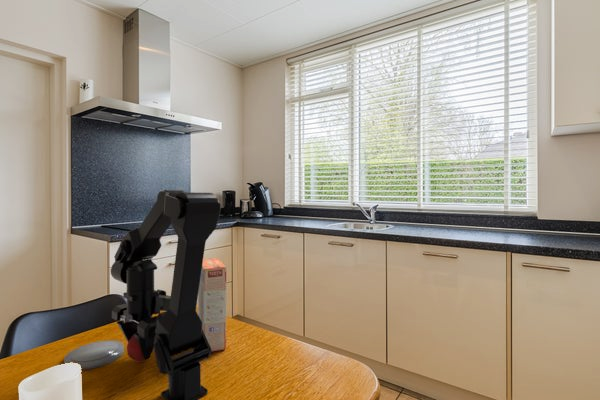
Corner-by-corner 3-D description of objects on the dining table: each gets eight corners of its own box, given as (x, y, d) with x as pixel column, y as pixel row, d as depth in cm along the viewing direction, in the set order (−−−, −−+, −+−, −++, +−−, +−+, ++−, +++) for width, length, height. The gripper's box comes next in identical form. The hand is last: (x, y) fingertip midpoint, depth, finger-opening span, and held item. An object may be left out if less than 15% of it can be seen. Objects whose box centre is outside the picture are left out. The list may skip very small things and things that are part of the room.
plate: (132, 355, 77) (132, 348, 77) (73, 376, 68) (72, 369, 68) (113, 340, 85) (113, 335, 85) (57, 358, 76) (57, 351, 76)
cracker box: (227, 350, 79) (227, 266, 79) (202, 354, 77) (202, 268, 77) (219, 328, 92) (219, 256, 92) (197, 332, 90) (197, 258, 90)
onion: (143, 370, 70) (143, 334, 70) (121, 367, 71) (120, 331, 71) (160, 357, 76) (160, 323, 76) (139, 354, 77) (138, 321, 77)
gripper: (194, 287, 74) (194, 354, 74) (156, 275, 86) (156, 332, 86) (145, 299, 65) (145, 375, 65) (110, 283, 77) (111, 347, 77)
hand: (141, 354), depth 74 cm, fingers closed on onion, 6 cm apart
